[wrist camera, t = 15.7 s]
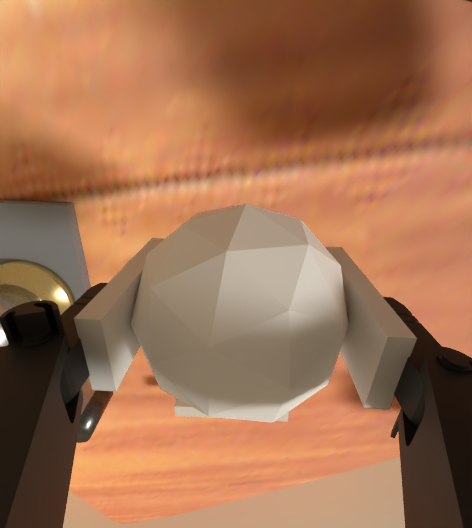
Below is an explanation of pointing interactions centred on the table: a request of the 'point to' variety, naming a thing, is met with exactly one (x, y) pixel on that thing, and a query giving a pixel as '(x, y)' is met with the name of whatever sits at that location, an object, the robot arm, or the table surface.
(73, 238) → the stand board
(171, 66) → the table surface
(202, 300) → the geometric ball
